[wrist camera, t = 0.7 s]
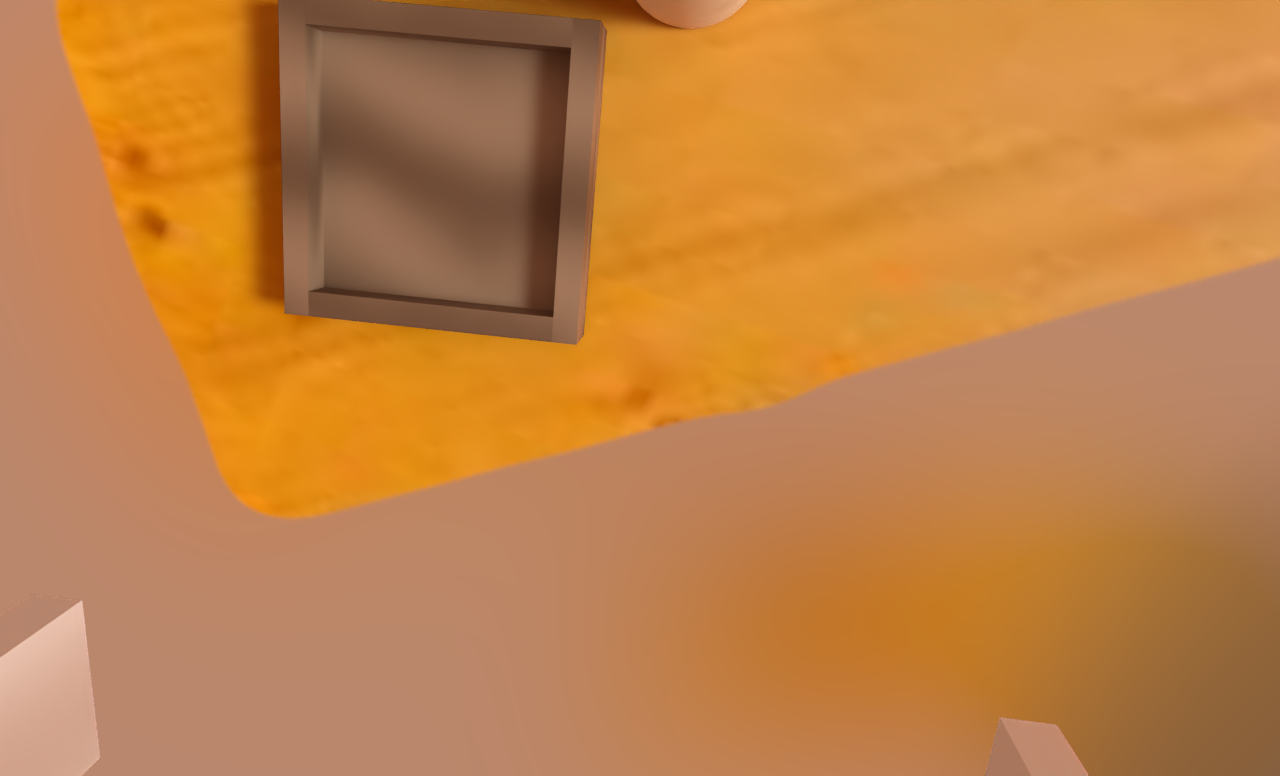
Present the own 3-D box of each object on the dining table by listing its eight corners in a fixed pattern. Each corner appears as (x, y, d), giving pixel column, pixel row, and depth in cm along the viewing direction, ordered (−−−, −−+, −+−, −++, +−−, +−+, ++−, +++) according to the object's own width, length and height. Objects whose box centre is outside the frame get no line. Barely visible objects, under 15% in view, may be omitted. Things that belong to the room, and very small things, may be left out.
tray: (303, 4, 31) (278, -8, 29) (606, 30, 31) (600, 20, 29) (308, 305, 34) (284, 313, 32) (583, 335, 34) (576, 344, 32)
